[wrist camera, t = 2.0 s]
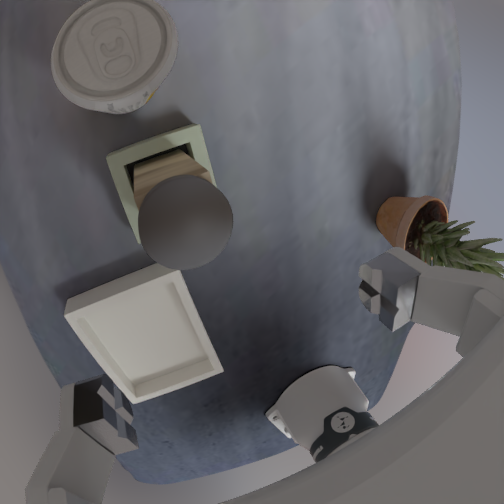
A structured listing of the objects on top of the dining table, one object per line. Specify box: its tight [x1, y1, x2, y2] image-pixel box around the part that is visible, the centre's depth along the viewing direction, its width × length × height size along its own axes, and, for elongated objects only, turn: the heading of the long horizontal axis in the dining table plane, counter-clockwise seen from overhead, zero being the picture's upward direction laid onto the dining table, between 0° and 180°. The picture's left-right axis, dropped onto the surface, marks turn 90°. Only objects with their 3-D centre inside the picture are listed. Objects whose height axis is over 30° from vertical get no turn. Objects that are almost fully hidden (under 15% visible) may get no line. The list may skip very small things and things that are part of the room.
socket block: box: [106, 124, 217, 244], centre depth 26 cm, size 8×8×3 cm
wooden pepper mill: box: [134, 149, 233, 270], centre depth 22 cm, size 5×5×13 cm
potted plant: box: [376, 196, 504, 280], centre depth 30 cm, size 10×10×25 cm
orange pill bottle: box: [51, 0, 178, 114], centre depth 15 cm, size 6×6×15 cm
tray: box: [64, 263, 224, 404], centre depth 32 cm, size 16×13×3 cm
